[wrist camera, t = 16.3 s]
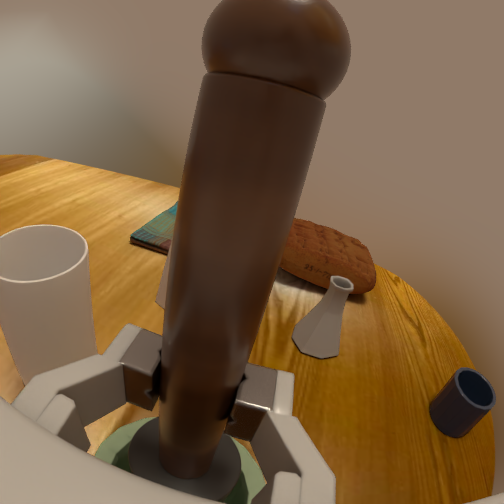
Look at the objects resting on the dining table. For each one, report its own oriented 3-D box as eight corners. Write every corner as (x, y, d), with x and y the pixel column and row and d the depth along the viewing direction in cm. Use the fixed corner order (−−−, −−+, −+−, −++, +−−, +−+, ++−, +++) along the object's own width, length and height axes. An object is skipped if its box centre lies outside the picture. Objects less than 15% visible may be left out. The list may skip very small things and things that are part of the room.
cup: (80, 350, 29) (66, 217, 22) (119, 402, 25) (108, 262, 18) (20, 375, 23) (-21, 237, 16) (51, 436, 19) (-8, 297, 12)
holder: (476, 423, 29) (502, 395, 26) (452, 446, 26) (482, 418, 23) (447, 389, 35) (469, 361, 33) (420, 407, 32) (445, 377, 29)
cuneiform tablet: (251, 276, 53) (263, 234, 50) (265, 240, 68) (274, 206, 65) (370, 310, 52) (388, 272, 48) (358, 268, 67) (371, 236, 64)
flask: (344, 361, 38) (376, 302, 34) (294, 357, 37) (322, 294, 33) (332, 327, 45) (358, 272, 40) (288, 322, 44) (309, 262, 39)
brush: (239, 512, 11) (476, 43, 3) (147, 528, 9) (195, -123, 1) (209, 442, 15) (323, 42, 7) (127, 451, 13) (151, -7, 5)
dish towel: (243, 226, 73) (245, 216, 72) (214, 271, 52) (216, 258, 51) (177, 207, 74) (178, 198, 73) (127, 243, 53) (127, 230, 52)
